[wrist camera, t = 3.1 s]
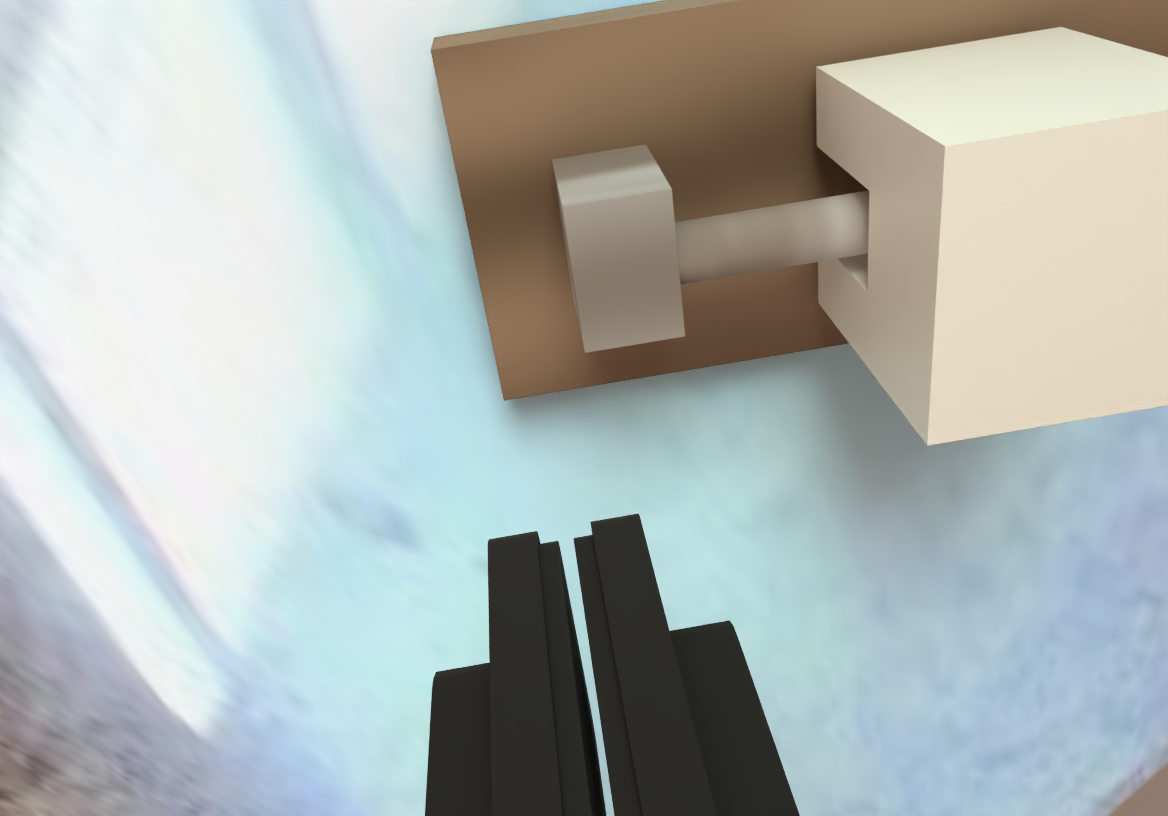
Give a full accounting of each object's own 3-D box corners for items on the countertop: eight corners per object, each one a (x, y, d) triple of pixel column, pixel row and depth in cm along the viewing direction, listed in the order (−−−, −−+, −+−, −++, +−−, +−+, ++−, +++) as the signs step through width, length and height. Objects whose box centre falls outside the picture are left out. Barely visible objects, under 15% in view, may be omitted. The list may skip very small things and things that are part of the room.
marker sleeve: (815, 66, 19) (944, 146, 14) (1061, 26, 19) (1284, 90, 14) (818, 302, 21) (927, 445, 16) (1033, 266, 22) (1211, 398, 16)
